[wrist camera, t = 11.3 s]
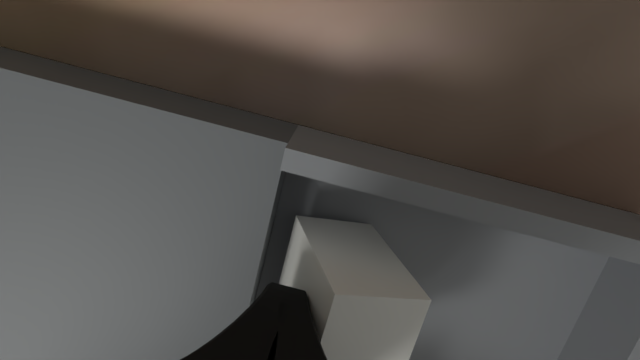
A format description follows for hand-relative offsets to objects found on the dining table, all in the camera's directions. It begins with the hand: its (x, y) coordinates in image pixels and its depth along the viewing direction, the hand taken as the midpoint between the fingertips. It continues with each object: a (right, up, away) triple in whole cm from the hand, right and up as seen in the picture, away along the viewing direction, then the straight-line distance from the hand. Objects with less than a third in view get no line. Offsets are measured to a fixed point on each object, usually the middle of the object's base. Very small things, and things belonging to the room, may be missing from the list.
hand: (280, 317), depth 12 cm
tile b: (0, 0, 0) cm, 0 cm away
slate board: (-7, 0, +4) cm, 9 cm away
